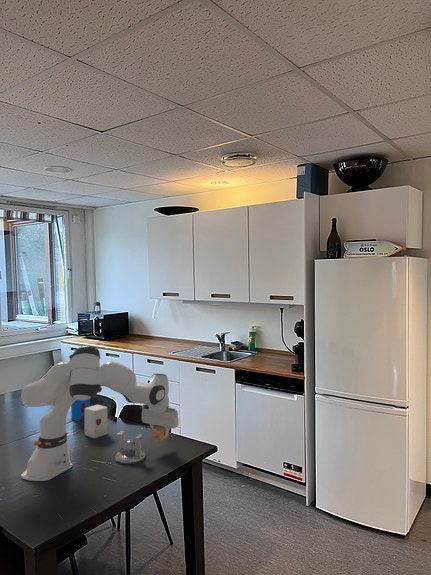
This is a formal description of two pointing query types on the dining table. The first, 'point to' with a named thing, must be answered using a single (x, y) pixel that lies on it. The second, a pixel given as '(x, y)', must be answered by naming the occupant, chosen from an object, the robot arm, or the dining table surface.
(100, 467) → the dining table surface
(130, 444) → the pronged peg stand
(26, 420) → the dining table surface
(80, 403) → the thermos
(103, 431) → the supplement box
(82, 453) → the dining table surface
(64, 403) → the robot arm
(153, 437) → the orange lumpy block
